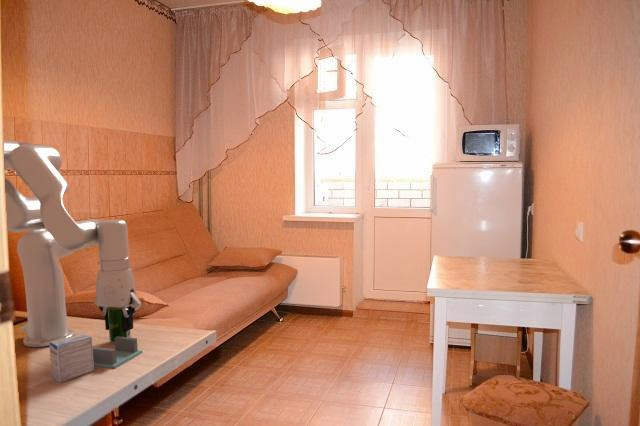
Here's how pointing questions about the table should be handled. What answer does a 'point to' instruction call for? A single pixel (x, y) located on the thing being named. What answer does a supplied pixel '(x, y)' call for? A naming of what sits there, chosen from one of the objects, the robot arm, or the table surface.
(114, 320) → the beer can
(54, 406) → the table surface
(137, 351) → the end holder
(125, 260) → the robot arm
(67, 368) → the medicine box
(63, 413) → the table surface
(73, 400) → the table surface
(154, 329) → the table surface
